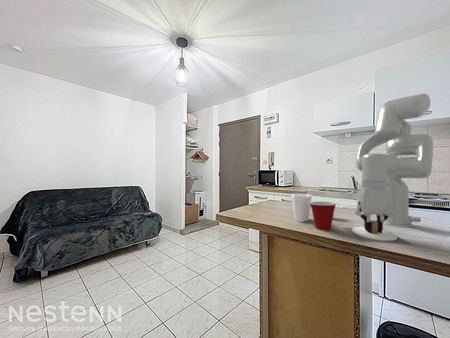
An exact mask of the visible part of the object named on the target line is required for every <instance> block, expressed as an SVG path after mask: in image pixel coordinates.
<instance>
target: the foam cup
mask: <svg viewBox="0 0 450 338" xmlns="http://www.w3.org/2000/svg"><path fill="white" fill-rule="evenodd" d="M291 200H292V201H291V202H292V208H293V214H294V215H293V216H294V217H293V218H294V221H296V222H299V223H305V222H308V221H309V218H310V210H311V205H310V204H309V202H312V200H313V199H312V194H307V193H291Z"/></svg>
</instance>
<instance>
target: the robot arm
mask: <svg viewBox="0 0 450 338" xmlns="http://www.w3.org/2000/svg"><path fill="white" fill-rule="evenodd" d="M430 106H431V97H430V96H429V95H428V94H427V93H420V94H414V95H410V96H405V97H400V98H396V99H392V100H388V101H386V102H384V103H382V105H381V107H380V109H379V111H378V115H377V120H376V126H375V129H374V132H373V133H372V134H371V135H370V136H368V137H367V138H366V139H365V140H363V142H362V143H361V145H360V146H359V148H358V151H357V154H356V155H357V156H356V160H355V166H356V168H357V169H358V170H359V171H360V172H361V187H359V189H358V192H357V200H356V210H355V211H354V214H355V215H356V216H359V217H360V218H361V219H362V220H363V221H364V224H363V225H364V226H363V227H364V228H365V230H366V231H368V232H372V223H371V222H370V220H371V215H376V221H378V232H379V233H382V230H383V229H384V228H383V227H384V225H387V226H391V227H397V228H413V227H414V225H413V222H415V223H420V222H421V220H422V219H421V218H420V217H417V216H416V217H413V216H410V215H409V202H410V201H409V194H410V193H409V190H410V189H409V186H408V184H407V183H406V182H405V181H404V179H421V180H423V179H427V178H429V177H430V176H431V175H432V169H433V155H434V141H433V138H432V136H431V135H430V134H427V133H417V134H416V133H415V134H412V126H411V123H410V122H408V121H406V120H411V119H417V118H420V117H423V115H424V114H425V113H427V112H428V111H429V109H430ZM385 143H386V146H385V151H386V153H370V152H371V151H372V150H374V149H375V148H377V147H379V146H381V145H383V144H385ZM407 156H408V157H407Z"/></svg>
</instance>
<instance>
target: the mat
mask: <svg viewBox="0 0 450 338" xmlns="http://www.w3.org/2000/svg"><path fill="white" fill-rule="evenodd" d="M342 228H343V229H344V230H346V231H347V232H349V234H351V235H352V236H354V237H355V238H356V239H358V241H361V242H367V243H369V242H370V243H381V244H382V243H383V244H384V243H385V244H386V243H387V244H400V245H402V244H403V245H412V243H411V242H410V241H408V240H405V239H403V238H401V237H399V236H398V235H396V236H397V240H395V241H377V240H371V239H367V238H363V237H360V236H358V235H356V234H354V233H353V232H352V229H353V228H354V227H347V226H346V227H343V226H342ZM383 230H385V229H384V228H383Z"/></svg>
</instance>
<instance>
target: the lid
mask: <svg viewBox="0 0 450 338" xmlns="http://www.w3.org/2000/svg"><path fill="white" fill-rule="evenodd" d="M370 222H371V223H372V232H368V231H366V230H365V228H364V226H355V227H352V228H353V229H352V232H353V233H354V234H356V235H358V236H360V237H363V238H367V239H371V240H377V241H395V240H397V236H398V235H397V234H395V233H393V232H392V231H389V230H386V229H384V230H382V233H379V232H378V221H377V220H375V219H370Z"/></svg>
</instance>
